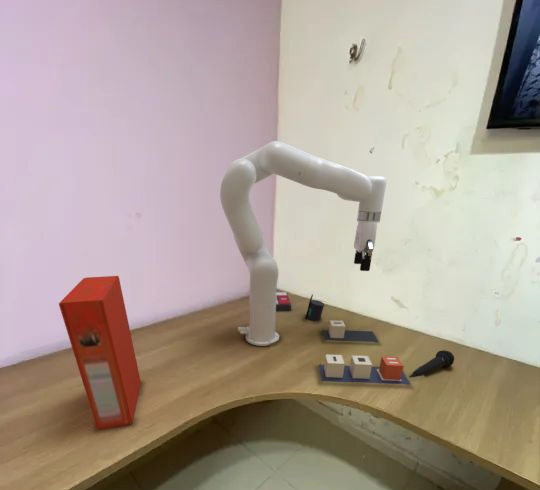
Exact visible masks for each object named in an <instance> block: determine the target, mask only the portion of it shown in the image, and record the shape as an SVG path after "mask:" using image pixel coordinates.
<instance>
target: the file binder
mask: <svg viewBox="0 0 540 490" xmlns="http://www.w3.org/2000/svg"><path fill="white" fill-rule="evenodd" d="M122 290H123V289H122V285H121V280H120V277H119V275H109V276H106V275H105V276H90V277H88V276H87V277H83V278H82V279H81V280H80V281H79V282H78V283H77V284H76V285H75V286H74V287H73V288H72V289H71V290H70V291H69V292H68V293H67V294H66V295H65V297H64V298H62V300H61V301H59V302H58V307H59V310H60V312H61V316H62V319H63V322H64V326H65V329H66V333H67V335H68V339H69V342H70V345H71V348H72V352H73V355H74V358H75V361H76V365H77V368H78V371H79V374H80V378H81V381H82V384H83V387H84V391H85V394H86V397H87V400H88V403H89V407H90V410H91V413H92V416H93V420H94V423H95V426H96V429H97V430H99V431H100V430H105V429H111V428H117V427H123V426H131V425H132V424H133V423H134V419H135V413H136V407H137V404H138V399H139V393H140V388H141V383H142V381H141V377H140V371H139V367H138V362H137V357H136V352H135V348H134V347H135V346H134V343H133V339H132V334H131V329H130V328H131V327H130V324H129V318H128V314H127V310H126V304H125V300H124V299H125V298H124V295H123V291H122Z"/></svg>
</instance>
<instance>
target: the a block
mask: <svg viewBox="0 0 540 490" xmlns="http://www.w3.org/2000/svg"><path fill="white" fill-rule="evenodd" d="M328 324H329V325H328V330H329V335H330V338H344V333H345V330H346V324H345V322H344V320H331V319H330V320H329V323H328Z"/></svg>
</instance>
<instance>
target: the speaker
mask: <svg viewBox="0 0 540 490" xmlns="http://www.w3.org/2000/svg"><path fill="white" fill-rule="evenodd" d="M313 297H314V294H311V296H310V298H309V303H308V306H307V309H306V314H305V317H304V319H307V320H308V321H311V322H319V321H320V320H321V318H322V314H323V311H324V306H325V303H324V302H322V301H321V300H318V299H313Z"/></svg>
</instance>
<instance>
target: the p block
mask: <svg viewBox="0 0 540 490" xmlns="http://www.w3.org/2000/svg"><path fill="white" fill-rule="evenodd" d="M349 366H350V372H351V375H352V377H353V378H361V379H369V378H370V373H371V368H372V367H373V363H372V361H371V359H370V357H369V355H351V357H350V364H349Z"/></svg>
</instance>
